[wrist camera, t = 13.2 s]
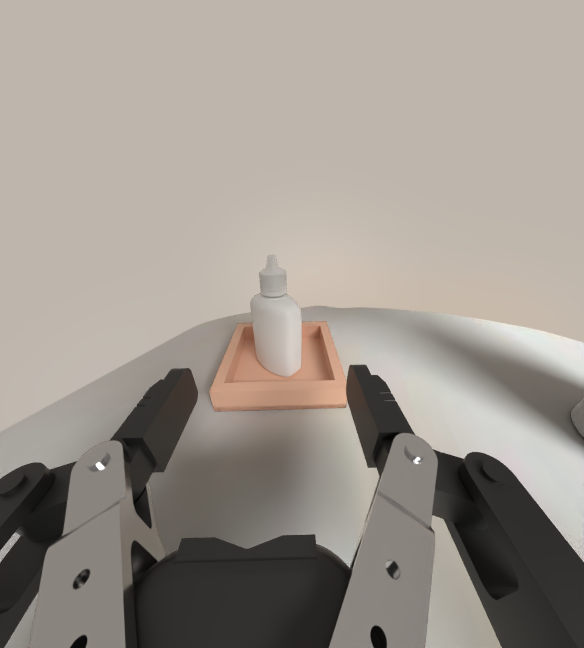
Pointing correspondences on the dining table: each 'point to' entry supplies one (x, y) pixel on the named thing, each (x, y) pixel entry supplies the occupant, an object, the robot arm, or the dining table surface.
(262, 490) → the dining table surface
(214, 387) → the terracotta caddy
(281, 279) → the eye dropper bottle
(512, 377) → the dining table surface
